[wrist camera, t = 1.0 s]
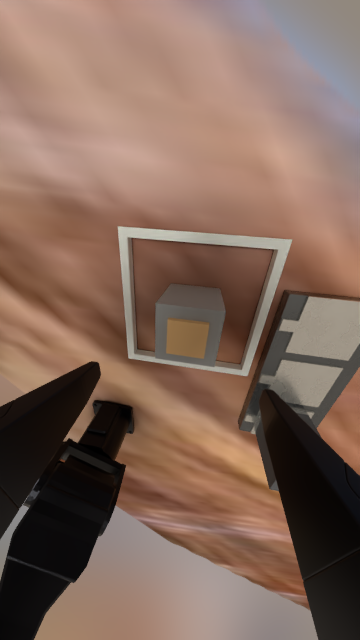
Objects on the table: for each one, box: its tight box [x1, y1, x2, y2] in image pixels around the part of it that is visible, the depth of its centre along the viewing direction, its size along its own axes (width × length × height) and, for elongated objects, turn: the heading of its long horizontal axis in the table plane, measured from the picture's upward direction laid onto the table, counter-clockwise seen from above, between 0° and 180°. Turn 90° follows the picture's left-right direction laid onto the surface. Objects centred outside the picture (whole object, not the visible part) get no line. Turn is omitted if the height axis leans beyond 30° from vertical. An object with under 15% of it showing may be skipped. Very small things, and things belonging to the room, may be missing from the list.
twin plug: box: [255, 413, 321, 491], centre depth 19 cm, size 5×5×6 cm
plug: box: [155, 283, 226, 367], centre depth 16 cm, size 5×5×6 cm
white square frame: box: [118, 226, 292, 376], centre depth 18 cm, size 15×15×1 cm
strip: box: [238, 290, 360, 434], centre depth 20 cm, size 20×9×1 cm, turn 176°
